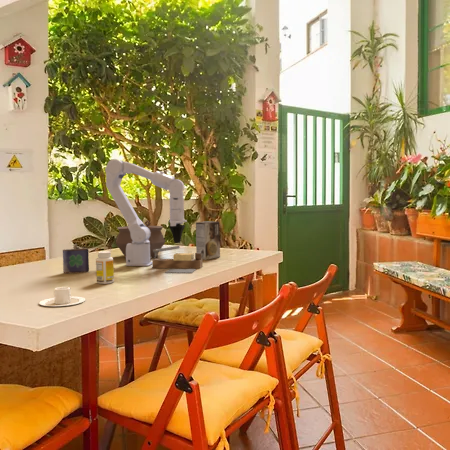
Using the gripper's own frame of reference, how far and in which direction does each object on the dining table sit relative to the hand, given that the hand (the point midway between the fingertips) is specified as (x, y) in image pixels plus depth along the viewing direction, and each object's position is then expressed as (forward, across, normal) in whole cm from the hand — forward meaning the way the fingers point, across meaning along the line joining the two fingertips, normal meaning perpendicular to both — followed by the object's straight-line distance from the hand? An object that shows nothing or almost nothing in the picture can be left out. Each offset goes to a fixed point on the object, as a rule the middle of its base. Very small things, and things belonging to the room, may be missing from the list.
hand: (177, 242), depth 202 cm
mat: (+9, -17, -5) cm, 20 cm away
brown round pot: (+9, +24, +23) cm, 34 cm away
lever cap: (+6, -7, -4) cm, 10 cm away
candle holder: (+10, -70, +16) cm, 72 cm away
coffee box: (+9, +21, -9) cm, 25 cm away
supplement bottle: (+9, -41, +15) cm, 45 cm away
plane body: (+9, -7, -2) cm, 11 cm away
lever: (+5, -1, +4) cm, 7 cm away
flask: (+9, -21, +34) cm, 41 cm away
